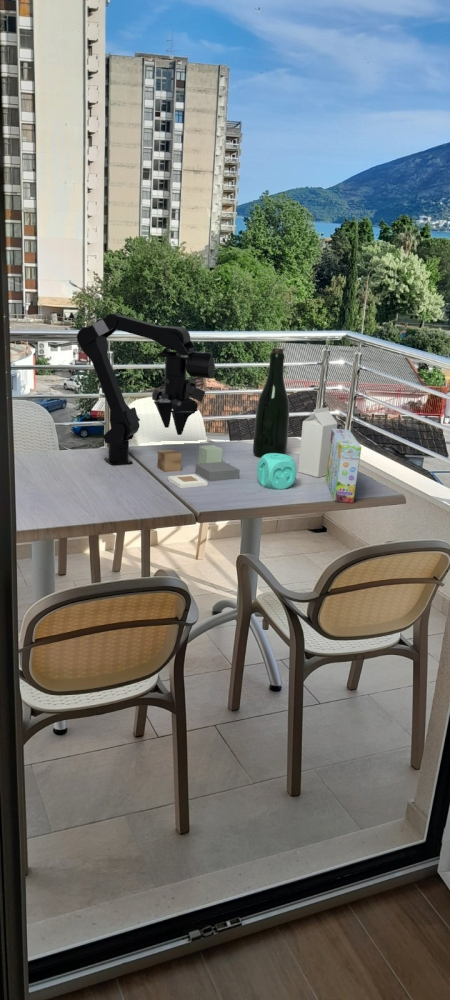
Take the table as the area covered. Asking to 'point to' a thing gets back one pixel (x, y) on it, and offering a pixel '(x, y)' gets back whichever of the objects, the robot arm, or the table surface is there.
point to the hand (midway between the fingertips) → (173, 431)
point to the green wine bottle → (272, 410)
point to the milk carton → (316, 442)
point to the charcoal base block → (217, 471)
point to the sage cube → (210, 454)
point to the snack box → (343, 465)
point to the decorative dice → (276, 471)
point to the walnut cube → (169, 460)
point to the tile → (187, 481)
